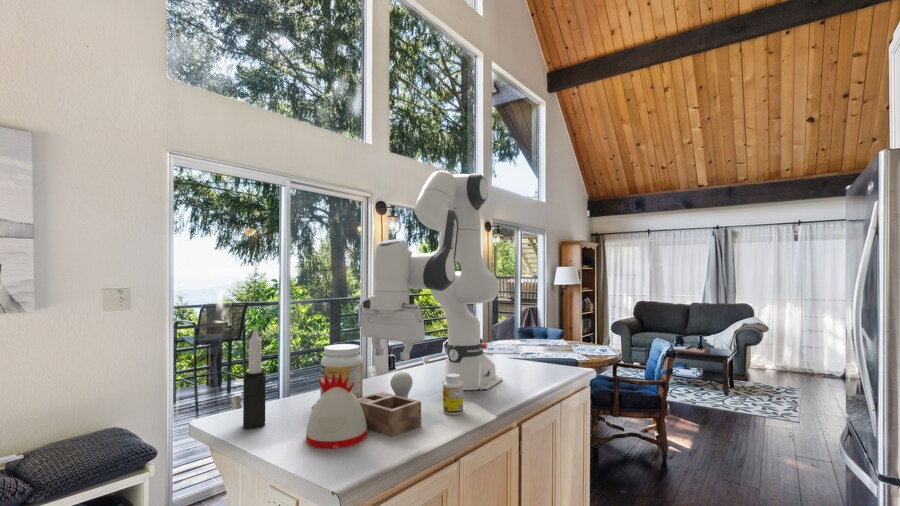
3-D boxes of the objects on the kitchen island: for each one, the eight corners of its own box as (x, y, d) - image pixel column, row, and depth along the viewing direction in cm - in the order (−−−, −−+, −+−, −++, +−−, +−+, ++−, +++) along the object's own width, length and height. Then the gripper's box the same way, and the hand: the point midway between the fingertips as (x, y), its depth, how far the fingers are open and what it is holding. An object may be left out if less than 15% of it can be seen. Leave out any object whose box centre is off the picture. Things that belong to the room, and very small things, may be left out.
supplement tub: (311, 407, 127) (311, 348, 128) (339, 396, 138) (339, 342, 139) (343, 413, 122) (344, 351, 123) (371, 401, 133) (371, 344, 133)
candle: (243, 423, 114) (244, 326, 115) (265, 420, 116) (265, 325, 117) (242, 430, 109) (244, 328, 110) (265, 427, 111) (266, 327, 112)
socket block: (381, 413, 121) (380, 391, 121) (421, 425, 111) (421, 401, 112) (351, 423, 113) (351, 400, 113) (392, 437, 103) (392, 411, 104)
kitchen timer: (314, 427, 110) (314, 367, 111) (369, 426, 111) (369, 366, 112) (299, 450, 97) (299, 381, 97) (362, 447, 98) (362, 379, 98)
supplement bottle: (442, 409, 124) (442, 372, 124) (462, 409, 124) (462, 372, 125) (443, 416, 118) (443, 377, 119) (463, 415, 119) (463, 377, 119)
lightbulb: (409, 415, 119) (408, 374, 120) (387, 414, 120) (387, 373, 121) (415, 408, 125) (415, 369, 126) (394, 407, 126) (394, 368, 127)
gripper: (430, 303, 108) (430, 360, 107) (374, 300, 121) (374, 351, 120) (412, 305, 103) (412, 364, 102) (356, 301, 116) (356, 354, 115)
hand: (391, 357), depth 111 cm, fingers open, 8 cm apart
